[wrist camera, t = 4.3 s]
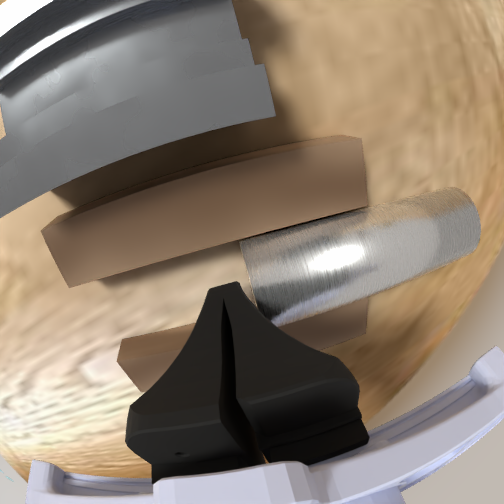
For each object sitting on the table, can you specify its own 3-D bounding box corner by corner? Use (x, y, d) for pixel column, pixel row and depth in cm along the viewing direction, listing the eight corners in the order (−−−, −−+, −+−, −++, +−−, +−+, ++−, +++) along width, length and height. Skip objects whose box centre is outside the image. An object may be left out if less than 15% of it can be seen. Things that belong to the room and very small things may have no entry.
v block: (251, 117, 11) (275, 116, 7) (46, 188, 10) (-3, 219, 7) (212, -34, 7) (219, -83, 3) (16, 47, 7) (-35, 37, 3)
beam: (353, 315, 17) (365, 333, 15) (143, 370, 16) (141, 392, 15) (341, 134, 12) (361, 138, 10) (57, 216, 11) (40, 230, 10)
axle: (432, 183, 14) (479, 192, 10) (436, 245, 15) (478, 265, 12) (235, 232, 14) (244, 257, 10) (255, 304, 15) (269, 348, 11)
